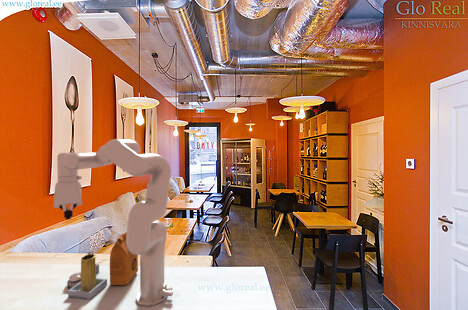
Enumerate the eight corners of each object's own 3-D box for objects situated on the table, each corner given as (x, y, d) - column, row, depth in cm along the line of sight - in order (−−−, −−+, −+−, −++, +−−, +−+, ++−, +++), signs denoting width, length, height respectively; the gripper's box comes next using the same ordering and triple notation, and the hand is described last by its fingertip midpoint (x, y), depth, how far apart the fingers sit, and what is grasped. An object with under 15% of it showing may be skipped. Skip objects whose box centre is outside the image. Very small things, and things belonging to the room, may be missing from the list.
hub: (89, 280, 104) (89, 275, 104) (77, 289, 97) (77, 285, 97) (76, 278, 105) (76, 274, 105) (63, 287, 98) (63, 283, 98)
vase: (84, 295, 92) (84, 261, 92) (77, 290, 95) (76, 257, 95) (99, 287, 97) (99, 255, 97) (92, 283, 101) (92, 252, 100)
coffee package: (141, 272, 111) (141, 229, 110) (126, 288, 99) (126, 239, 98) (122, 271, 112) (122, 228, 111) (106, 286, 100) (105, 238, 99)
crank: (77, 283, 98) (76, 265, 98) (65, 282, 99) (65, 263, 99) (98, 268, 110) (97, 252, 110) (88, 267, 111) (87, 251, 111)
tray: (107, 285, 101) (106, 279, 101) (89, 300, 91) (89, 293, 91) (87, 282, 102) (87, 276, 102) (68, 297, 92) (68, 290, 92)
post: (99, 272, 111) (99, 264, 110) (96, 274, 109) (96, 266, 109) (95, 272, 111) (95, 264, 111) (93, 274, 109) (92, 266, 109)
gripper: (87, 177, 110) (88, 214, 110) (48, 179, 102) (49, 218, 103) (86, 179, 103) (87, 218, 104) (45, 181, 96) (45, 223, 96)
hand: (68, 218), depth 103 cm, fingers closed
